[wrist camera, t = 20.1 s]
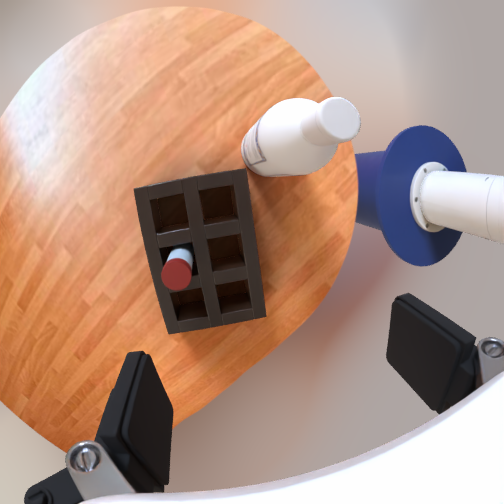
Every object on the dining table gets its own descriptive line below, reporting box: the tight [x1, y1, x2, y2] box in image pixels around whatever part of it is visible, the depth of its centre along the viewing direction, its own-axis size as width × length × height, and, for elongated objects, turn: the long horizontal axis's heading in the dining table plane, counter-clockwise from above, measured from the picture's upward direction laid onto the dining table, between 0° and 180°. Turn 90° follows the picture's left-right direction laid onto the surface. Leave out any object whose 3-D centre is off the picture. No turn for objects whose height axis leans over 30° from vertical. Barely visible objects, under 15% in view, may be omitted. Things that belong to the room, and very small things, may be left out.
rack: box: [134, 168, 266, 334], centre depth 33 cm, size 12×18×5 cm
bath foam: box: [241, 97, 361, 177], centre depth 24 cm, size 7×7×20 cm
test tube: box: [161, 243, 194, 291], centre depth 30 cm, size 3×3×10 cm
